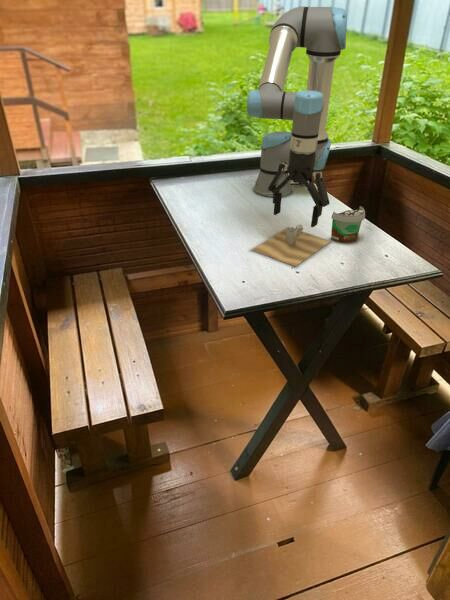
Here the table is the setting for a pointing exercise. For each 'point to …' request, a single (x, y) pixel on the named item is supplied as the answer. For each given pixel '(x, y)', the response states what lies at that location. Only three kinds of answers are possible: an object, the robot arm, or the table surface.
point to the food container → (346, 225)
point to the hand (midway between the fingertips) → (294, 219)
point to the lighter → (293, 234)
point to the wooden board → (291, 248)
